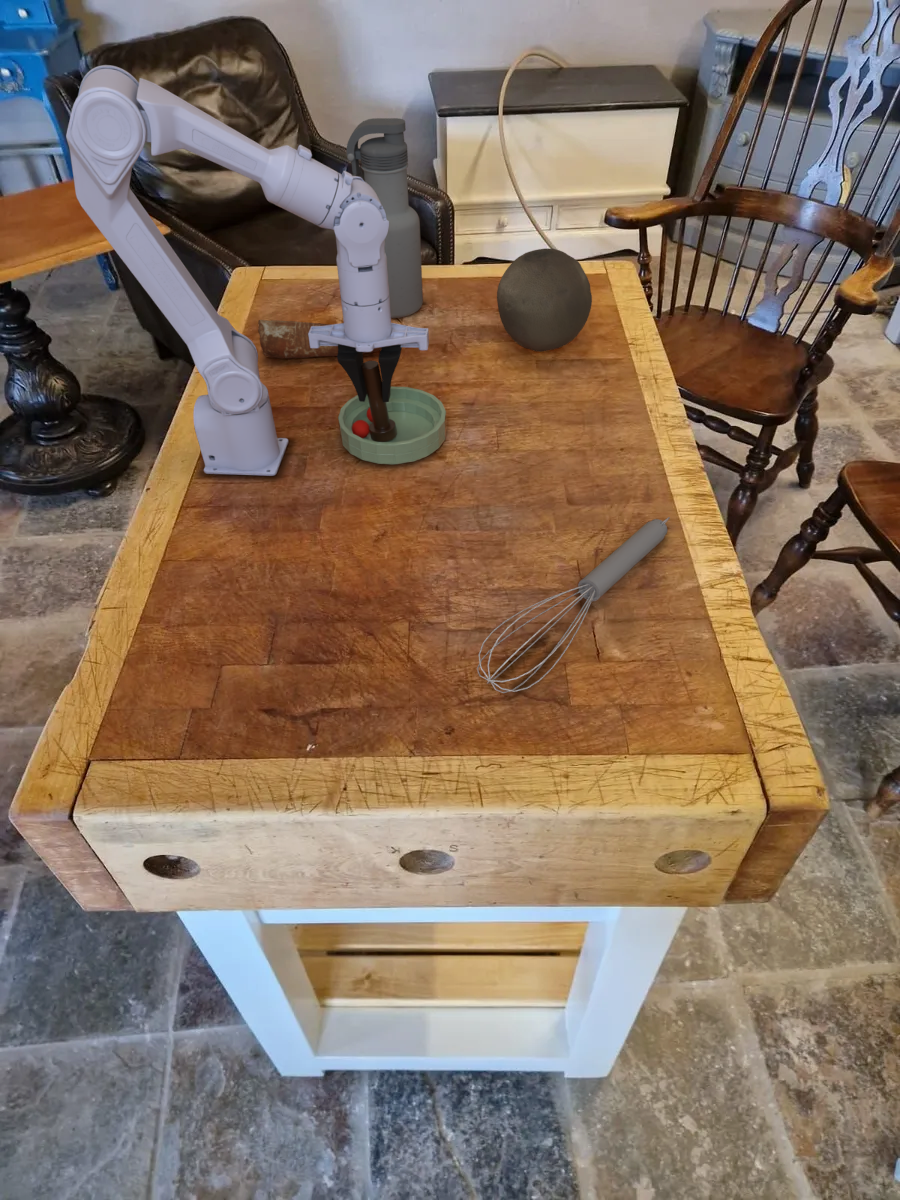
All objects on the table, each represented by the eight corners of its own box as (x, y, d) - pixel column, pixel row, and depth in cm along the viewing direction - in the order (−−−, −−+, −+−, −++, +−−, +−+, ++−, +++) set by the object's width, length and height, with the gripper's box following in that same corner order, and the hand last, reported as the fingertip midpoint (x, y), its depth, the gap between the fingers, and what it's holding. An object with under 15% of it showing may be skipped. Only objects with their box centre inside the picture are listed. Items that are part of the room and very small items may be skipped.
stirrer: (368, 442, 106) (352, 372, 99) (374, 428, 109) (359, 358, 102) (394, 442, 106) (380, 370, 99) (399, 427, 108) (386, 357, 101)
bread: (265, 347, 127) (258, 313, 123) (385, 343, 127) (382, 310, 123) (259, 367, 122) (253, 332, 118) (384, 363, 123) (381, 329, 119)
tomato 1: (369, 441, 107) (356, 442, 108) (375, 426, 107) (363, 428, 109) (358, 430, 105) (345, 431, 106) (364, 415, 106) (352, 417, 107)
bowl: (333, 465, 104) (329, 443, 102) (350, 407, 114) (348, 385, 112) (441, 469, 103) (440, 446, 101) (449, 409, 113) (449, 387, 111)
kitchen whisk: (688, 537, 93) (699, 494, 88) (513, 721, 75) (515, 678, 71) (643, 516, 96) (651, 473, 91) (463, 688, 78) (462, 645, 73)
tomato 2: (362, 419, 109) (363, 410, 110) (376, 429, 110) (377, 421, 112) (373, 406, 107) (374, 398, 109) (387, 417, 109) (388, 409, 110)
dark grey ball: (497, 327, 130) (500, 233, 120) (584, 330, 129) (595, 234, 119) (493, 371, 120) (495, 272, 110) (587, 374, 119) (599, 275, 109)
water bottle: (358, 319, 133) (339, 131, 113) (368, 293, 140) (352, 111, 120) (419, 321, 132) (410, 131, 113) (426, 295, 139) (419, 112, 119)
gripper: (297, 310, 92) (313, 413, 101) (423, 312, 91) (427, 415, 100) (309, 283, 96) (323, 384, 106) (428, 285, 96) (432, 386, 105)
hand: (374, 397), depth 104 cm, fingers closed on stirrer, 2 cm apart
